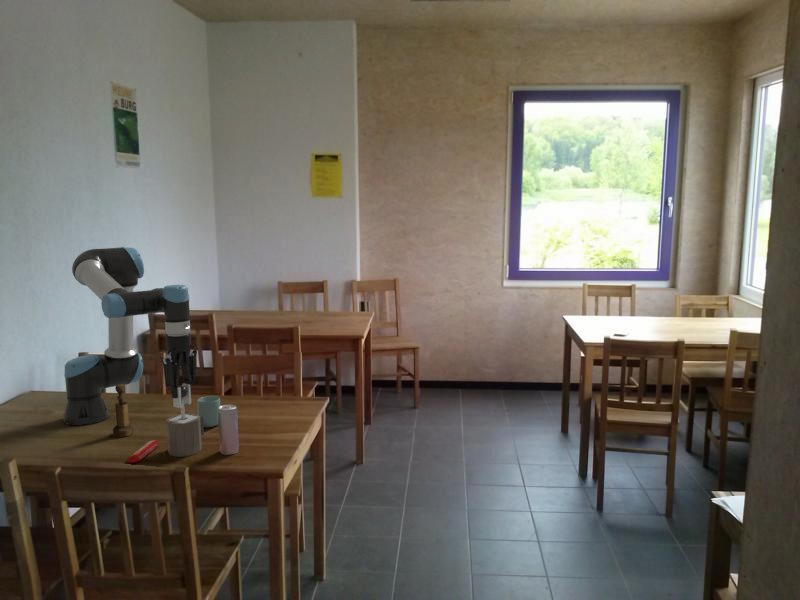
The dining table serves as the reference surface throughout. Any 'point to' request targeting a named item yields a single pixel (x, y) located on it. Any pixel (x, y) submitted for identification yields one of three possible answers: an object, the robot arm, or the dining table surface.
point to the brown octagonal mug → (184, 434)
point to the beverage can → (228, 429)
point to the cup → (208, 410)
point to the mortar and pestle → (122, 415)
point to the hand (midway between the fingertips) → (182, 405)
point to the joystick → (183, 394)
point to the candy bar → (142, 451)
